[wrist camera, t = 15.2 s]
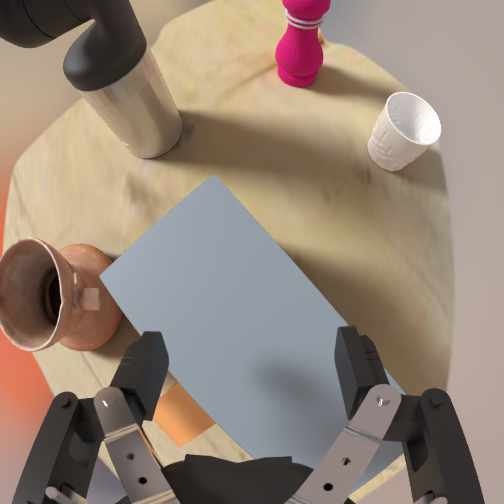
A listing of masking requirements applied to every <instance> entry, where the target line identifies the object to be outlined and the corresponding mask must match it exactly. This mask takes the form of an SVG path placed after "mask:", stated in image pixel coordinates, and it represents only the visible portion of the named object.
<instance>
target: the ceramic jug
mask: <svg viewBox="0 0 504 504" xmlns="http://www.w3.org/2000/svg"><path fill="white" fill-rule="evenodd" d="M111 264H112V261H111V260H110V259H109V258H108V256H107V255H106V254H104V253H103V252H102V251H100V250H99V249H97V248H95V247H93V246H90V245H86V244H74V245H70V246H67V247H65V248H63V249H61V250H60V251H57V250H56V249H54V248H53V247H52V246H50V245H49V244H47V243H45V242H44V241H42V240H40V239H37V238H33V237H25V238H22V239H19V240H17V241H16V242H15V243H13V244H12V245H11V246H10V247H9V248H8V249H7V250H6V251H5V253H4V254H3V256H2V257H1V259H0V326H1V328H2V331H3V332H4V334H5V335H6V336H7V338H8V339H9V340H10V341H11V342H12V343H13V344H14V345H15V346H17V347H18V348H20V349H22V350H25V351H31V352H33V351H40V350H43V349H46V348H48V347H50V346H52V345H54V344H55V343H57V342H59V343H61V344H62V345H64V346H65V347H67V348H70V349H73V350H77V351H90V350H94V349H96V348H98V347H100V346H102V345H103V344H105V343H106V342H107V341H108V340H109V339H110V338H111V337H112V336H113V334H114V333H115V332H116V330H117V328H118V326H119V324H120V321H121V318H122V314H123V311H122V310H121V308H120V307H119V306H118V304H117V303H116V301H115V300H114V298H113V297H112V295H111V294H110V292H109V291H108V289H107V288H106V286H105V285H104V283H103V282H102V280H101V279H100V277H99V276H100V275H101V274H102V273H103V272H104V271H105V270H106V269H107V268H108V267H109V266H110V265H111Z"/></svg>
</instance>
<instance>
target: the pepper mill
mask: <svg viewBox="0 0 504 504" xmlns="http://www.w3.org/2000/svg"><path fill="white" fill-rule="evenodd" d="M282 3H283V5H284V6H285V8H286V10H285V19H286V21H287V22H288V28H287V31H286V33H285V35H284V36H283V37H282V39H281V40H280V42H279V43H278V46H277V48H276V53H275V58H276V61H277V63H278V75H279V77H280V79H281V80H282V81H283V82H285V83H286V84H288V85H291V86H295V87H304V86H308V85H310V84H312V83H313V82H314V81H315V79H316V76H317V71H318V69H319V68H320V67H321V66H322V63H323V50H322V47H321V45H320V43H319V40H318V27H320V26H321V25H322V23H323V18H324V14H325V13H326V12H327V11H328V9H329V7H330V0H282Z"/></svg>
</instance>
